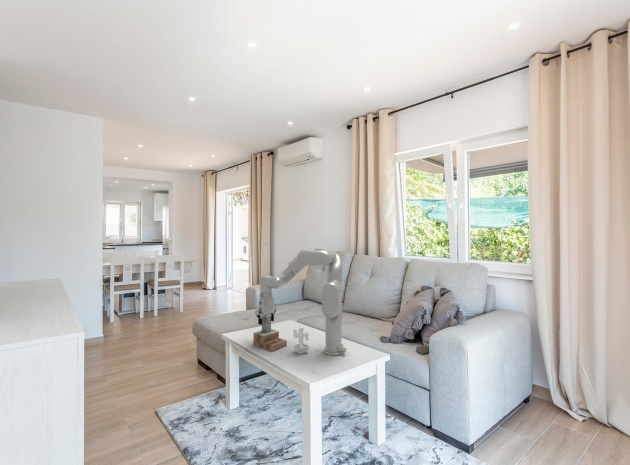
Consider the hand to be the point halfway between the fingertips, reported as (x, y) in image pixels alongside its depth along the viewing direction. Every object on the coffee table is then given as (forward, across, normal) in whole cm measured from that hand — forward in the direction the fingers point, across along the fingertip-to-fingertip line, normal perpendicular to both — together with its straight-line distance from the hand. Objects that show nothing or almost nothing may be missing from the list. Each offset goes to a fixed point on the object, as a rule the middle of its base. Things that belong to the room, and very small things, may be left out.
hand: (266, 322), depth 208 cm
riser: (+14, 0, -4) cm, 14 cm away
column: (+6, 0, 0) cm, 6 cm away
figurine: (+14, +4, -26) cm, 29 cm away
